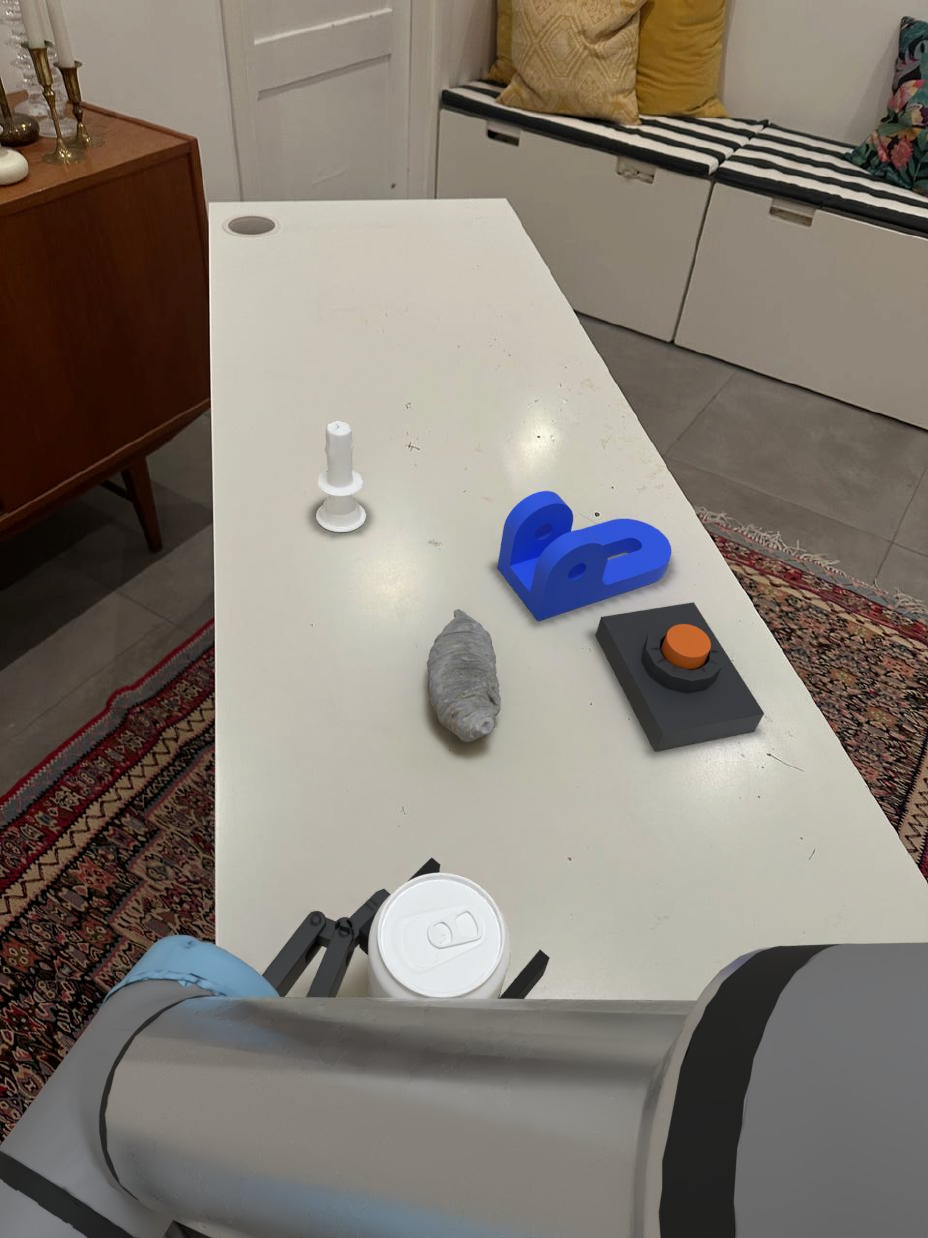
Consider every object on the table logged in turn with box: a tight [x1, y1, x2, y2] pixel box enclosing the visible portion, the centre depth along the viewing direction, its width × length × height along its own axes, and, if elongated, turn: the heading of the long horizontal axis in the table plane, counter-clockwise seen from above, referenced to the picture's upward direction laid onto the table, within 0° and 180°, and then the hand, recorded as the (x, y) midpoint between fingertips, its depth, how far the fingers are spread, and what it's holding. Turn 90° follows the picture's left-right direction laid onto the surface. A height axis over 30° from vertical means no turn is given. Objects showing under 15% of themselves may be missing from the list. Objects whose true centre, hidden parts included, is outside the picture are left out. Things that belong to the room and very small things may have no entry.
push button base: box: [595, 601, 765, 752], centre depth 80 cm, size 14×10×4 cm
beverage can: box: [367, 872, 512, 999], centre depth 52 cm, size 8×8×12 cm
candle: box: [315, 420, 367, 533], centre depth 90 cm, size 5×5×12 cm
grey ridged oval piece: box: [426, 608, 502, 743], centre depth 76 cm, size 6×14×8 cm, turn 4°
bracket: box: [496, 490, 672, 622], centre depth 88 cm, size 18×8×9 cm, turn 118°
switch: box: [662, 624, 711, 670], centre depth 78 cm, size 4×4×2 cm
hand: (486, 915), depth 55 cm, fingers closed on beverage can, 8 cm apart
